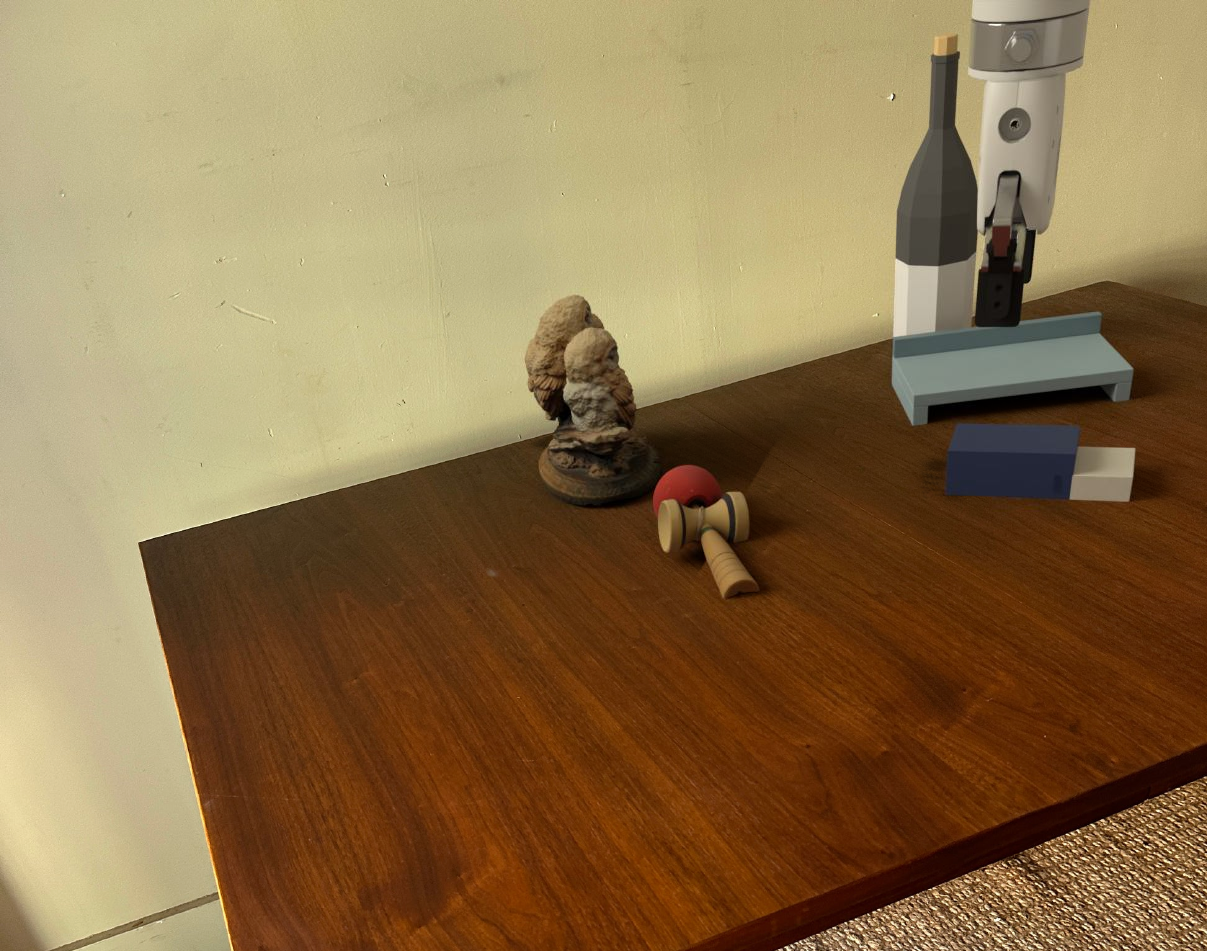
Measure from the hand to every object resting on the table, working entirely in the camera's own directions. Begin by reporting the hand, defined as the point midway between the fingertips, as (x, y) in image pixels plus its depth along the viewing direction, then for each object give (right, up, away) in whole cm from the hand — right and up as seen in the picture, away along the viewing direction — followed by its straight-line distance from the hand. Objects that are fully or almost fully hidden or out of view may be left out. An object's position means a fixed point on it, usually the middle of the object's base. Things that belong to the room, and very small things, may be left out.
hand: (1003, 303), depth 92 cm
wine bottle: (+5, +10, +38) cm, 39 cm away
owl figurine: (-31, -6, +25) cm, 41 cm away
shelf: (+9, 0, +26) cm, 27 cm away
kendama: (-22, -18, +9) cm, 30 cm away
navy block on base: (+5, -13, +10) cm, 17 cm away
